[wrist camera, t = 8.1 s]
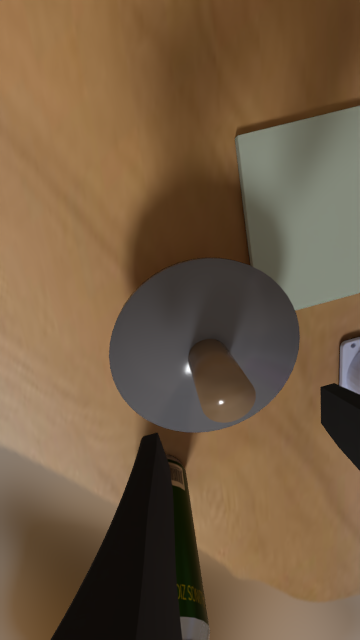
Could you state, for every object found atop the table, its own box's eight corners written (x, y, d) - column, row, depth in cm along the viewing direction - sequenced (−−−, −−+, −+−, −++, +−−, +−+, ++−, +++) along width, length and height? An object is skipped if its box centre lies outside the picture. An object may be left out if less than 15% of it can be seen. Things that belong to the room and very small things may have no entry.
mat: (419, 93, 15) (427, 89, 15) (398, 279, 20) (404, 280, 20) (234, 138, 15) (237, 135, 15) (256, 318, 20) (259, 320, 19)
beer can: (143, 448, 23) (136, 647, 12) (192, 456, 24) (228, 643, 13) (128, 485, 25) (110, 692, 13) (175, 491, 26) (194, 685, 15)
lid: (292, 239, 13) (365, 241, 9) (291, 403, 17) (340, 461, 13) (85, 279, 13) (49, 303, 8) (136, 439, 17) (131, 513, 12)
